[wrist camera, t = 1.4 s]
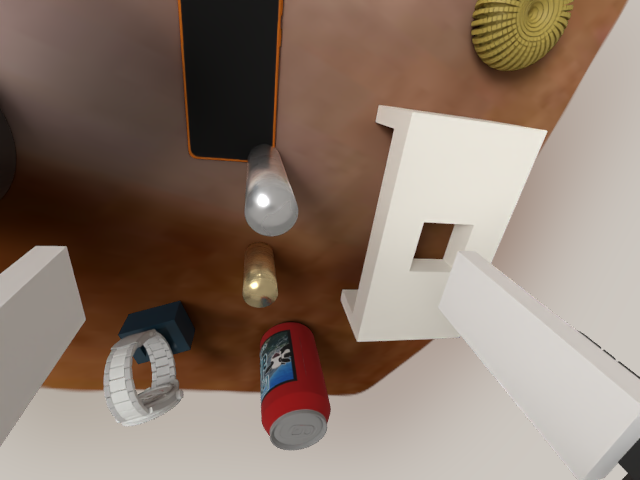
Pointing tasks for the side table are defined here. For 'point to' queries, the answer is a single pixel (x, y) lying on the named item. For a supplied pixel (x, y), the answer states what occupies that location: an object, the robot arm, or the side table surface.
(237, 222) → the side table surface
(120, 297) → the side table surface
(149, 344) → the watch
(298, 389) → the beverage can
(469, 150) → the white bench
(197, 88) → the smartphone
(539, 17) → the sculpture
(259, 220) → the tall steel pin
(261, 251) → the short brass pin
